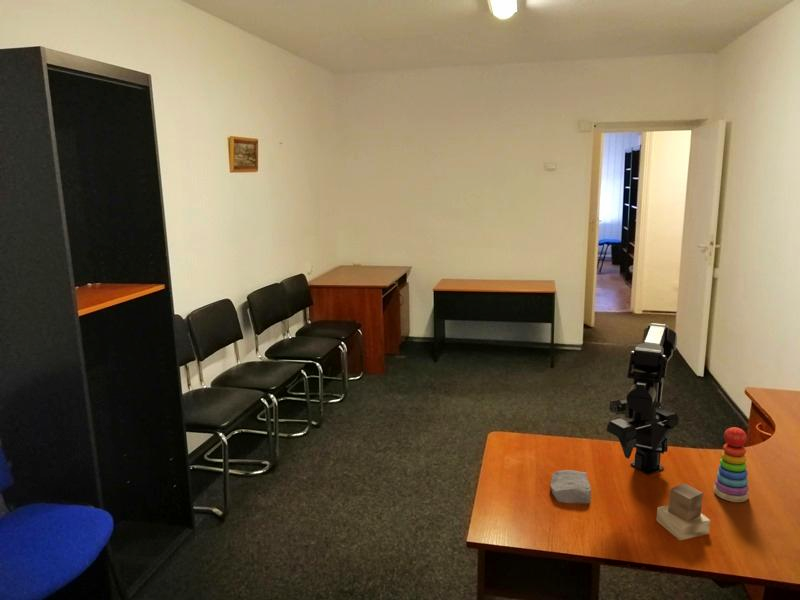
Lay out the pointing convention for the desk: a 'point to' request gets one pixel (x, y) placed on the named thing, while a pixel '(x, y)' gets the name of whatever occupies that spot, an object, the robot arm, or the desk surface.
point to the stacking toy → (733, 468)
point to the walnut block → (685, 502)
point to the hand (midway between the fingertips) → (640, 453)
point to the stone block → (571, 487)
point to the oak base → (682, 524)
